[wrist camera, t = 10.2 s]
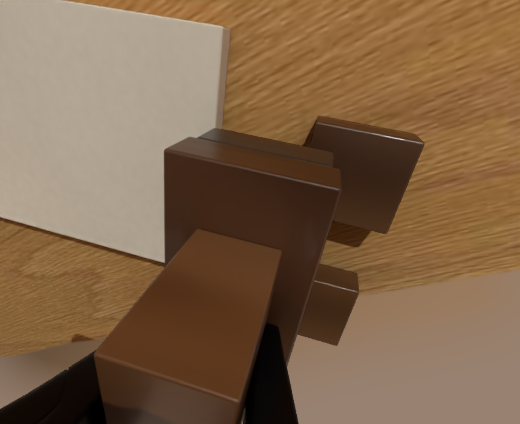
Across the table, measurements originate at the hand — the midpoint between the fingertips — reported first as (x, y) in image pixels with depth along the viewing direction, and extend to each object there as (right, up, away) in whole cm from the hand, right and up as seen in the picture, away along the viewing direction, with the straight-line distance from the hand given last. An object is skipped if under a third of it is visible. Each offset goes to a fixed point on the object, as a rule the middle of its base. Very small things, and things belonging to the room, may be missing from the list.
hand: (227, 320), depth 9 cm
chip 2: (+5, +5, +4) cm, 8 cm away
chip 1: (+4, -1, +7) cm, 9 cm away
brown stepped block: (+1, +1, +3) cm, 3 cm away
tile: (-10, +8, +7) cm, 14 cm away
